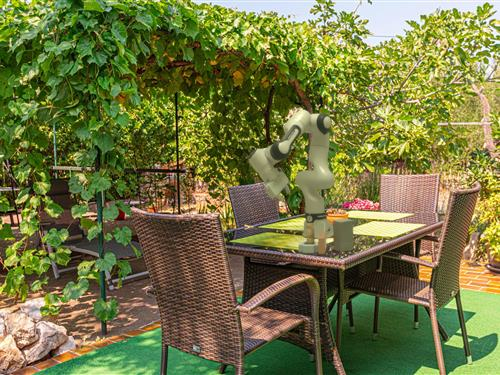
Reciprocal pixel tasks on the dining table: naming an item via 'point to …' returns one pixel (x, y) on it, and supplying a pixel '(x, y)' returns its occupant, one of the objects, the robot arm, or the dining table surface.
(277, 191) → the robot arm
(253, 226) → the dining table surface
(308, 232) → the dowel
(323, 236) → the wall
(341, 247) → the skincare box
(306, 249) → the block
